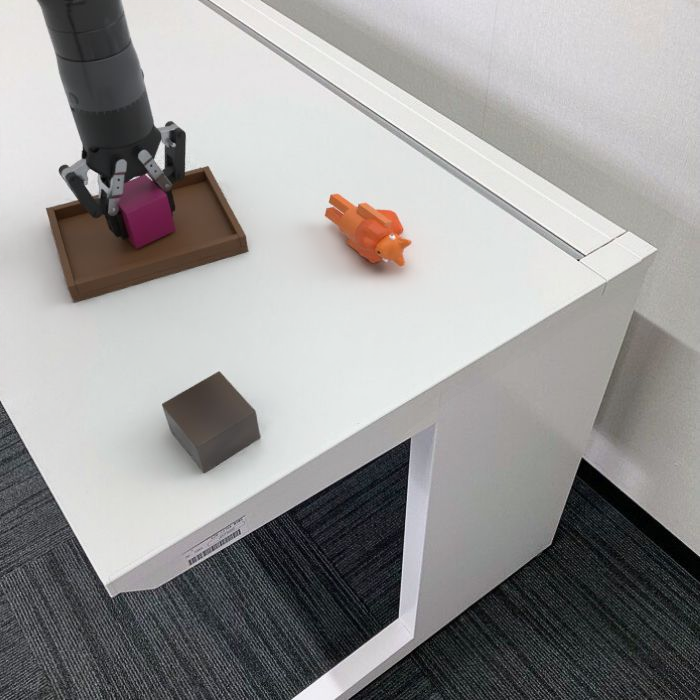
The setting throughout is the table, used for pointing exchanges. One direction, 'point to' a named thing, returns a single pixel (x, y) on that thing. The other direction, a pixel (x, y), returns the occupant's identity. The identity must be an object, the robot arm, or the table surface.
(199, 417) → the dark brown block
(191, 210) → the tray
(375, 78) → the table surface
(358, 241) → the orange toy animal
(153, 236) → the mulberry block
